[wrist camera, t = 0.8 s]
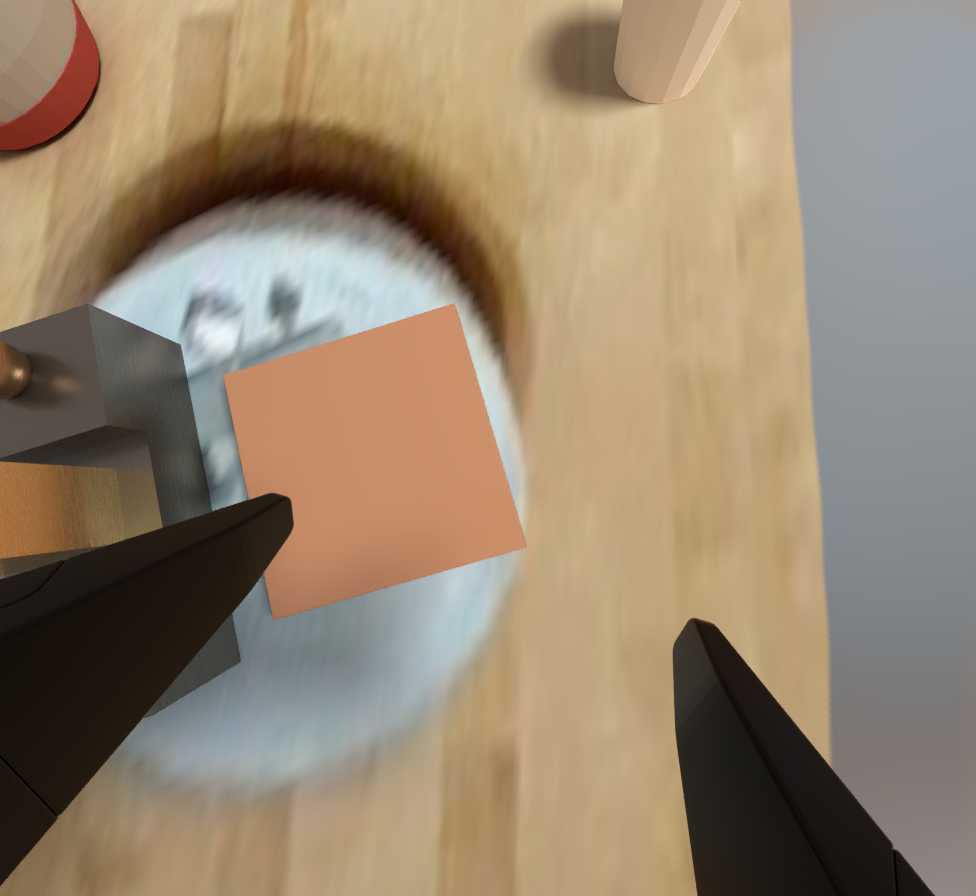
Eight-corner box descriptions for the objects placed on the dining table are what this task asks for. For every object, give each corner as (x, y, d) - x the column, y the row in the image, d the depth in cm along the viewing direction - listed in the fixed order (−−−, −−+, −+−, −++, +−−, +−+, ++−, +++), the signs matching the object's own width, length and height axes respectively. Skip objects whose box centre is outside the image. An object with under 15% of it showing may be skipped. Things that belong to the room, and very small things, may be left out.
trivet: (525, 542, 22) (526, 547, 20) (294, 609, 23) (273, 619, 21) (459, 318, 24) (454, 303, 22) (247, 385, 25) (223, 375, 23)
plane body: (240, 661, 23) (91, 752, 15) (97, 702, 23) (-124, 812, 15) (180, 344, 25) (26, 276, 17) (52, 385, 26) (-156, 336, 18)
